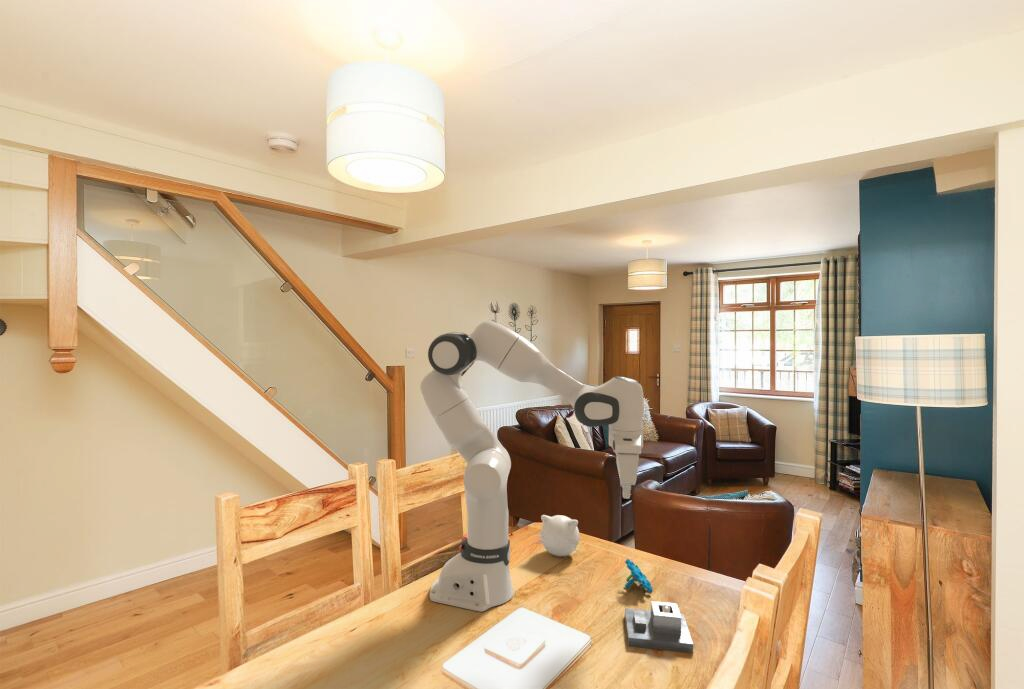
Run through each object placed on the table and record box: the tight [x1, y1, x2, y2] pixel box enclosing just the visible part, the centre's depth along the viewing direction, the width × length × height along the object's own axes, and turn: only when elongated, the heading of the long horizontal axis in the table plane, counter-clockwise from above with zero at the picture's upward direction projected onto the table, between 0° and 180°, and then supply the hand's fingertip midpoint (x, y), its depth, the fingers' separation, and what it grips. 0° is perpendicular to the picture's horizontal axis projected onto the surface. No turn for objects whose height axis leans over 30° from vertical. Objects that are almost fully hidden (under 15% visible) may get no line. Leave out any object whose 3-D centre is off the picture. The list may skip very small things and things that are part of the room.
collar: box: [650, 600, 681, 635], centre depth 118 cm, size 6×6×4 cm
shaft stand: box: [624, 605, 694, 654], centre depth 118 cm, size 14×12×6 cm
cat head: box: [533, 514, 580, 557], centre depth 159 cm, size 15×13×12 cm
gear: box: [624, 558, 654, 593], centre depth 140 cm, size 11×6×10 cm
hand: (624, 491), depth 131 cm, fingers open, 8 cm apart
